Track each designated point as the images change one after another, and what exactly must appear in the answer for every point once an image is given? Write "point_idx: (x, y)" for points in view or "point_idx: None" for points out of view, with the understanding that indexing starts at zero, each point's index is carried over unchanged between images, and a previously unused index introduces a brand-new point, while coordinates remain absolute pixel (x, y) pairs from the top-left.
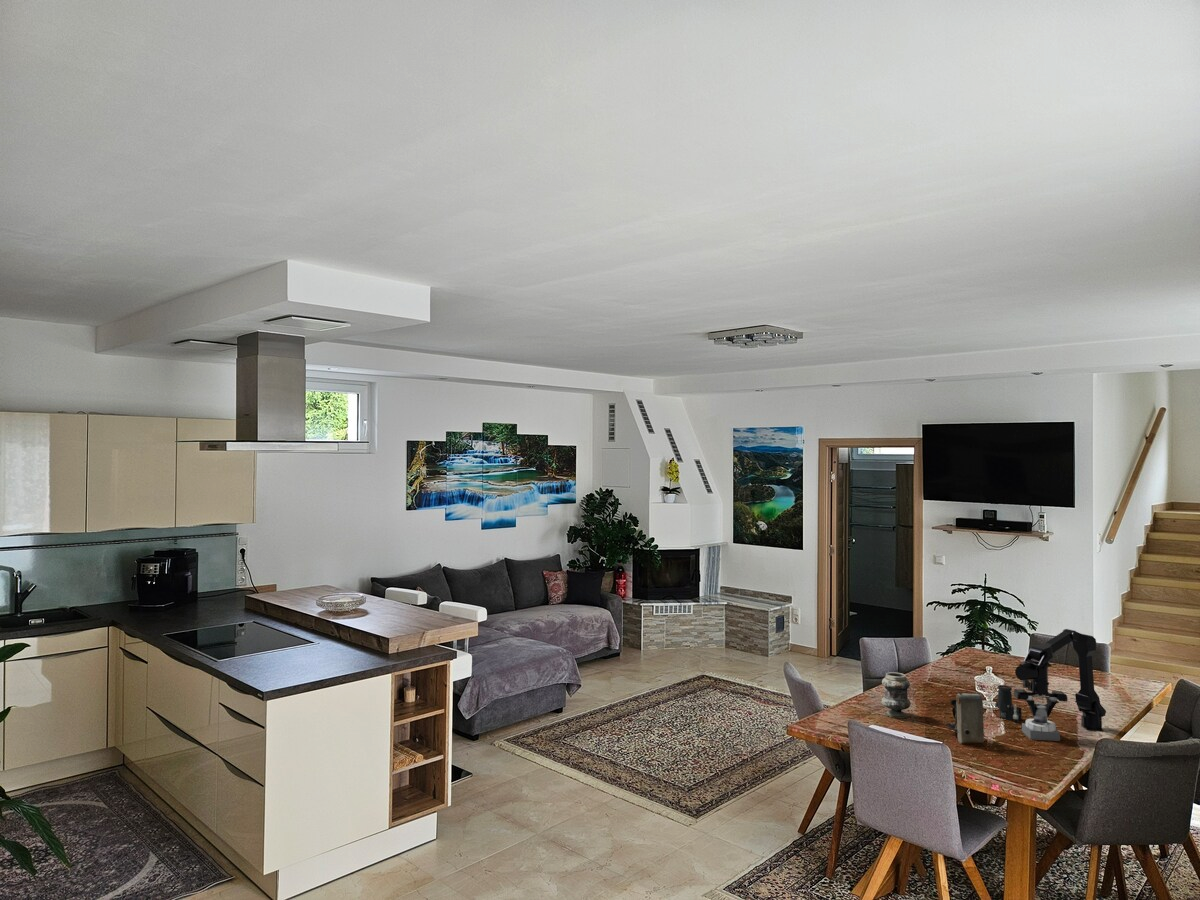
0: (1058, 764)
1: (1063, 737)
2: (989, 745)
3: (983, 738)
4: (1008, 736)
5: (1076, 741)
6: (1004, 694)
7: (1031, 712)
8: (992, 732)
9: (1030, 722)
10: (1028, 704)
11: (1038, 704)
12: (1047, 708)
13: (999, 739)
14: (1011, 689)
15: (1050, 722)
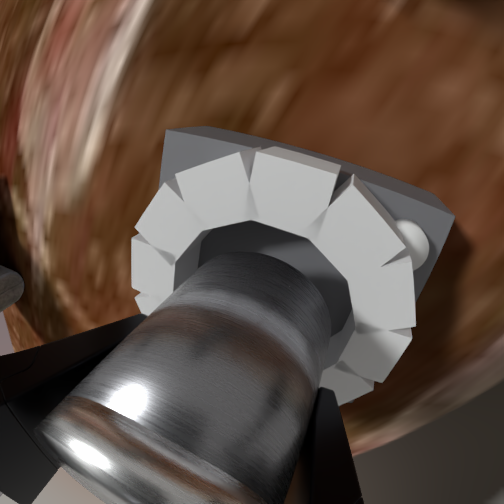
0: None
1: (445, 304)
2: (38, 304)
3: (12, 303)
4: (95, 225)
5: (451, 373)
6: None
7: (109, 326)
8: (53, 156)
9: (156, 288)
10: (3, 365)
11: (103, 497)
12: (294, 500)
13: (60, 258)
14: None
15: (378, 334)
